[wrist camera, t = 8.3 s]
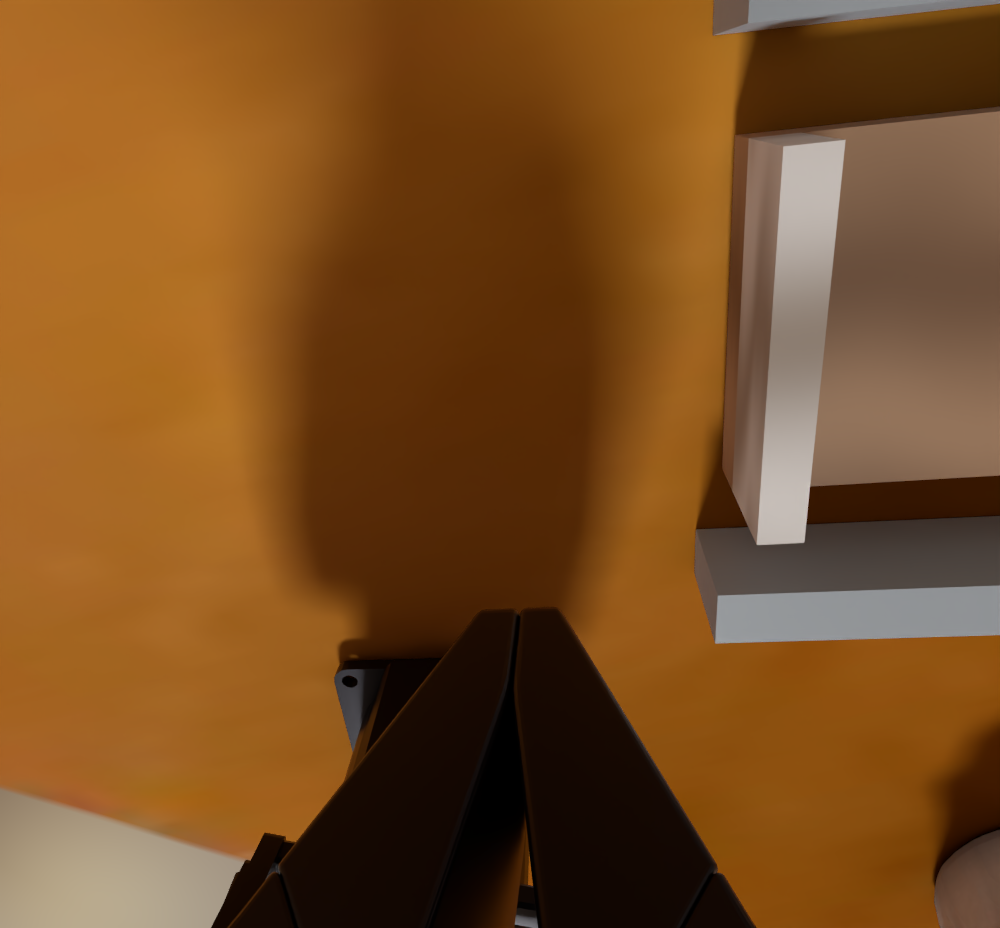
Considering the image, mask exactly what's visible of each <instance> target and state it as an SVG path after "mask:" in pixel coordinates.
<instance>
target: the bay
mask: <svg viewBox="0 0 1000 928" xmlns="http://www.w3.org/2000/svg"><path fill="white" fill-rule="evenodd" d="M992 4H1000V0H714V14H713V35H721V34H730V33H739V32H748V31H758V30H767V29H776V28H785V27H794V26H803V25H812V24H821V23H830V22H839V21H848V20H857V19H866V18H875V17H884V16H893V15H902V14H911V13H920V12H929V11H938V10H947V9H956V8H965V7H974V6H983V5H992ZM695 577H696V580H697V583H698V587H699V590H700V593H701V597H702V600H703V604H704V607H705V610H706V614H707V617H708V620H709V624H710V627H711V630H712V634H713V637H714V641H715V643H743V642H777V641H811V640H845V639H879V638H913V637H947V636H981V635H1000V516H985V517H962V518H940V519H918V520H895V521H873V522H851V523H828V524H806V532H805V541H804V543H790V544H771V545H756V542H755V540H754V538H753V536H752V534H751V531H750V529H749V527H739V528H716V529H696V543H695Z"/></svg>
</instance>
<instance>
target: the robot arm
mask: <svg viewBox="0 0 1000 928" xmlns="http://www.w3.org/2000/svg"><path fill="white" fill-rule="evenodd" d="M348 675H349V676H353V677H355V679H354V678H350V677H348ZM335 686H336V689H337V693H338V697H339V701H340V705H341V709H342V712H343V716H344V720H345V724H346V728H347V731H348V735H349V739H350V743H351V747H352V750H353V754H352V757H351V760H350V764H349V767H348V770H347V774H346V777H345V780H344V782H343V784H342V785H341V786H340V787H339V789H338V790H337V791H336V792H335V794H334V795H333V796H332V797H331V799H330V800H329V801H328V803H327V804H326V805H325V806H324V808H323V809H322V810H321V811H320V813H319V814H318V815H317V816H316V818H315V819H314V820H313V821H312V823H311V824H310V825H309V826H308V828H307V829H306V830H305V832H304V833H303V834H302V835H301V837H300V838H299V839H298V840H297V842H291V841H286V836H280V835H275V834H270V833H264V835H263V837H262V839H261V841H260V843H259V845H258V847H257V849H256V851H255V853H254V855H253V857H252V859H251V861H250V860H246V861H245V862H244V864H243V866H242V868H241V870H240V872H237V873H236V874H235V877H234V879H233V881H232V884H231V886H230V889H229V891H228V894H227V896H226V899H225V901H224V904H223V906H222V907H221V909H220V912H219V913H218V915H217V917H216V919H215V921H214V923H213V925H212V927H211V928H756V926H755V925H754V923H753V922H752V920H751V919H750V917H749V915H748V914H747V912H746V910H745V909H744V907H743V906H742V904H741V902H740V901H739V899H738V897H737V896H736V894H735V893H734V891H733V889H732V888H731V886H730V884H729V883H728V881H727V879H726V878H725V876H724V875H723V874H721V873H717V871H718V868H717V864H716V862H715V861H714V859H713V857H712V856H711V854H710V853H709V851H708V849H707V848H706V846H705V844H704V843H703V841H702V840H701V838H700V836H699V835H698V833H697V831H696V830H695V828H694V826H693V825H692V823H691V822H690V820H689V818H688V817H687V815H686V813H685V812H684V810H683V808H682V807H681V805H680V804H679V802H678V800H677V799H676V797H675V795H674V794H673V792H672V790H671V789H670V787H669V786H668V784H667V782H666V781H665V779H664V777H663V776H662V774H661V773H660V771H659V769H658V768H657V766H656V764H655V763H654V761H653V759H652V758H651V756H650V755H649V753H648V751H647V750H646V748H645V746H644V745H643V743H642V741H641V740H640V738H639V737H638V735H637V733H636V732H635V730H634V728H633V727H632V725H631V724H630V722H629V720H628V719H627V717H626V715H625V714H624V712H623V710H622V709H621V707H620V706H619V704H618V702H617V701H616V699H615V697H614V696H613V694H612V692H611V691H610V689H609V688H608V686H607V684H606V683H605V681H604V679H603V678H602V676H601V674H600V673H599V671H598V670H597V668H596V666H595V665H594V663H593V661H592V660H591V658H590V657H589V655H588V653H587V652H586V650H585V648H584V647H583V645H582V643H581V642H580V640H579V639H578V637H577V635H576V634H575V632H574V630H573V629H572V627H571V625H570V624H569V622H568V621H567V619H566V617H565V616H564V614H563V613H562V611H561V610H560V609H558V608H556V607H542V608H525V609H523V610H522V611H521V613H520V614H519V612H518V611H517V610H516V609H486V610H482V611H480V612H479V613H478V614H477V615H476V616H475V617H474V619H473V620H472V621H471V622H470V624H469V625H468V626H467V627H466V629H465V630H464V631H463V632H462V634H461V635H460V636H459V637H458V639H457V640H456V641H455V642H454V644H453V645H452V646H451V648H450V649H449V650H448V651H447V653H446V654H445V655H444V656H443V658H428V659H393V660H358V661H346V662H343V663H342V664H340V666H339V667H338V669H337V672H336V675H335ZM529 854H530V862H531V871H532V880H533V886H530V885H528V863H529Z"/></svg>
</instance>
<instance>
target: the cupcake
mask: <svg viewBox="0 0 1000 928" xmlns="http://www.w3.org/2000/svg"><path fill="white" fill-rule="evenodd" d="M934 903H935V907H936V912H937V916H938V921H939V925H940V928H1000V830H996V831H994V832H991V833H988V834H986V835H983V836H981V837H979V838H976V839H974V840H972V841H971V842H969V843H968V844H966V845H964V846H963V847H962V848H960V849H959V850H957V851H956V852H955V853H954V854H953V855H952V856H951V857H950V858H949V859H948V860H947V861H946V862H945V863H944V864H943V865H942V867H941V869H940V871H939V873H938V876H937V878H936V884H935V898H934Z"/></svg>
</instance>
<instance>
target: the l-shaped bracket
mask: <svg viewBox="0 0 1000 928" xmlns="http://www.w3.org/2000/svg"><path fill="white" fill-rule="evenodd" d="M722 470H723V472H724V474H725V476H726V478H727V481H728V483H729V485H730V487H731V489H732V492H733V494H734V496H735V498H736V500H737V503H738V505H739V507H740V509H741V512H742V514H743V516H744V518H745V520H746V523H747V525H748V527H749V529H750V531H751V534H752V536H753V538H754V540H755V542H756V545H771V544H790V543H804V541H805V532H806V522H807V512H808V502H809V492H810V487H811V486H828V485H845V484H862V483H879V482H896V481H913V480H930V479H947V478H964V477H982V476H999V475H1000V106H998V107H989V108H980V109H971V110H961V111H952V112H943V113H934V114H924V115H915V116H906V117H897V118H888V119H878V120H869V121H860V122H851V123H841V124H832V125H823V126H814V127H804V128H795V129H786V130H777V131H768V132H758V133H749V134H740V135H735V149H734V175H733V200H732V226H731V252H730V277H729V303H728V329H727V355H726V380H725V406H724V432H723V457H722Z"/></svg>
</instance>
